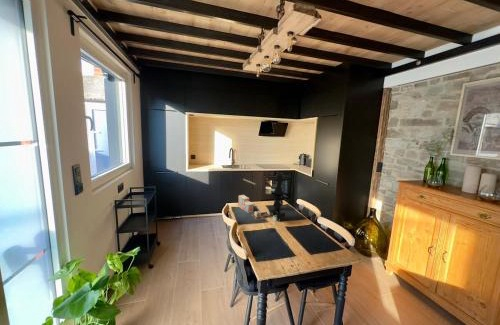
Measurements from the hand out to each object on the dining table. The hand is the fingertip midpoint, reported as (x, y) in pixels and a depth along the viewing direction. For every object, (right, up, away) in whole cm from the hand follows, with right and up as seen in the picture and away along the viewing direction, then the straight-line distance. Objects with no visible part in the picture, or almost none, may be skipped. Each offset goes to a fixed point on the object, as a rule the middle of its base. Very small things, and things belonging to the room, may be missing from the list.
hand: (276, 219), depth 181 cm
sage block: (0, -1, 0) cm, 1 cm away
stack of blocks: (-29, +4, +23) cm, 37 cm away
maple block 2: (-4, +2, +11) cm, 12 cm away
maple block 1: (-17, +2, +5) cm, 18 cm away
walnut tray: (-11, +1, +8) cm, 13 cm away
